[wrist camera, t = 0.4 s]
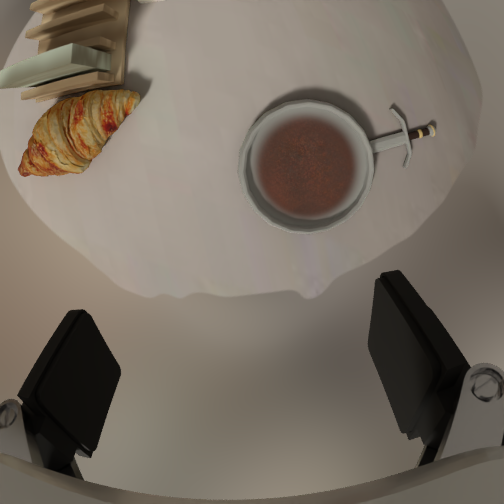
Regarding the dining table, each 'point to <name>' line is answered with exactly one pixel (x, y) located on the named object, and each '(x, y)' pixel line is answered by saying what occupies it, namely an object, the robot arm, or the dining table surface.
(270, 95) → the dining table surface
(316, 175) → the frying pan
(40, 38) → the rack
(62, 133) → the croissant
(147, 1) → the white rectangular slab
